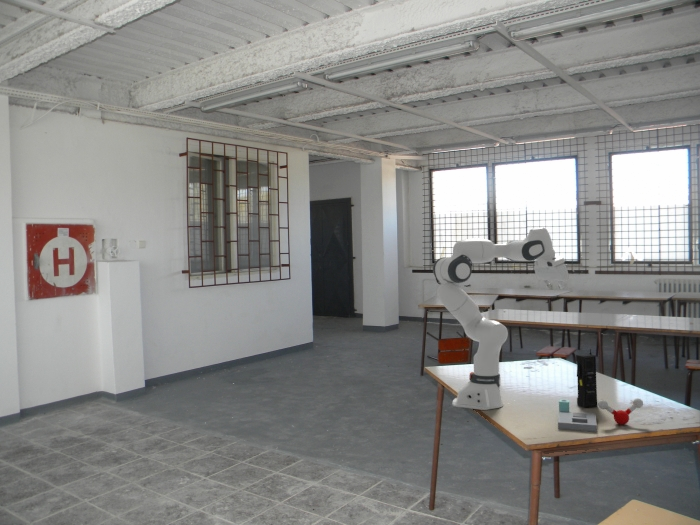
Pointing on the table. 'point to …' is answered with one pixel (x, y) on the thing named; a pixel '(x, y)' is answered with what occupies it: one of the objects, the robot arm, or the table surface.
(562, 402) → the block
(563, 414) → the outlet plate
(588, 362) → the portable radio
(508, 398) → the table surface
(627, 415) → the molecular model
